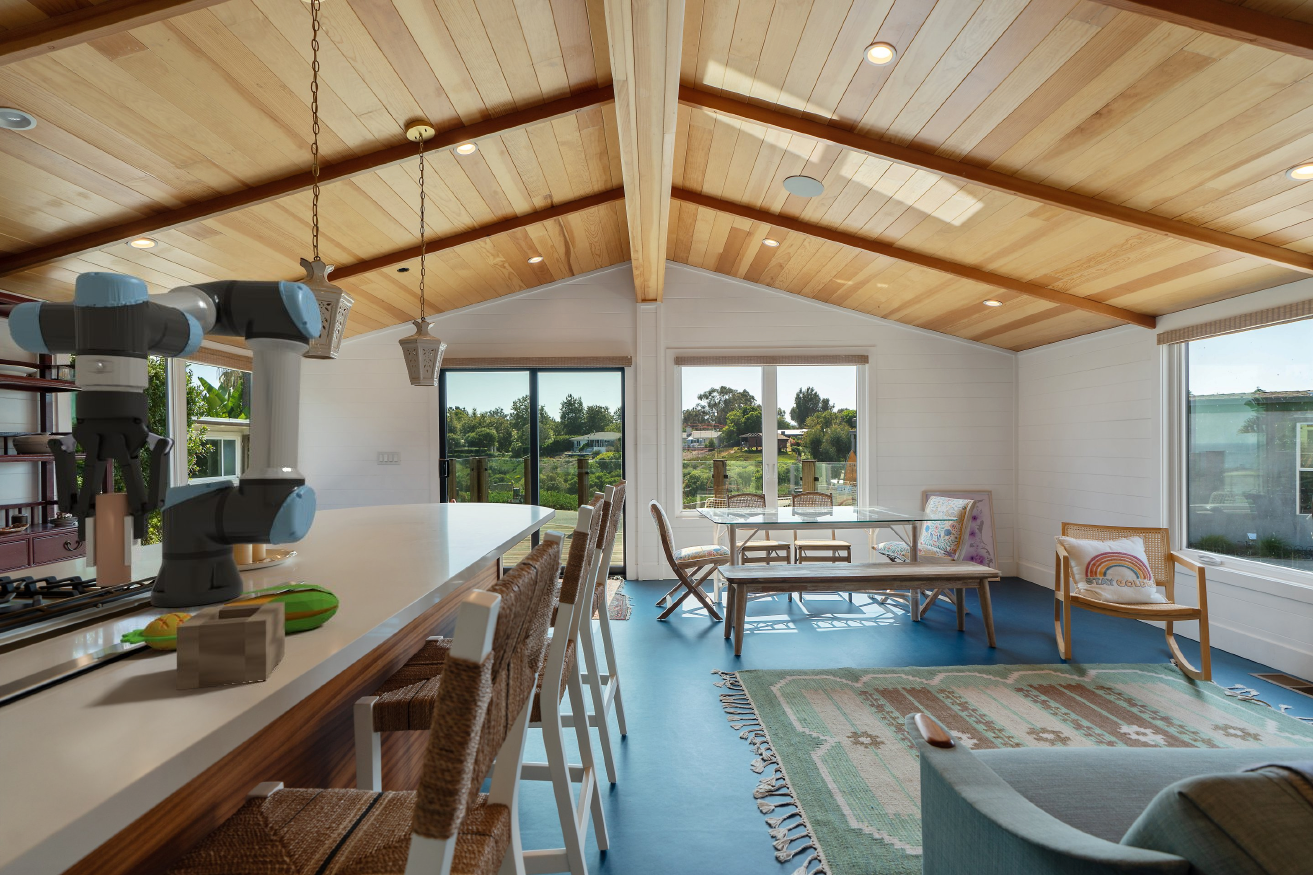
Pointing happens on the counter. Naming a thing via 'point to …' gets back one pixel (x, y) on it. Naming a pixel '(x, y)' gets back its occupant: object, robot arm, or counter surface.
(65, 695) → the counter surface
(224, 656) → the socket block
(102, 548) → the peg
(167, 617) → the toy pineapple
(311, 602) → the corn
